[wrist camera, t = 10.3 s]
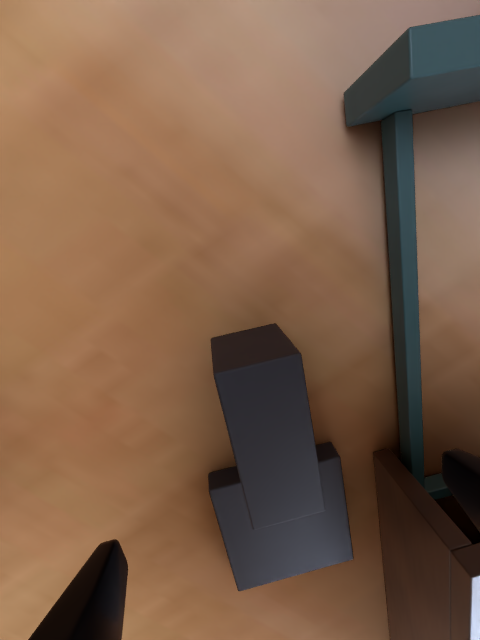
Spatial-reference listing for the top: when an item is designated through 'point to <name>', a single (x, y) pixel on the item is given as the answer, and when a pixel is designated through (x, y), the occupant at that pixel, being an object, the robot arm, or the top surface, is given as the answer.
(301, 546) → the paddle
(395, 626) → the drawer unit
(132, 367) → the top surface
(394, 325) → the drawer
